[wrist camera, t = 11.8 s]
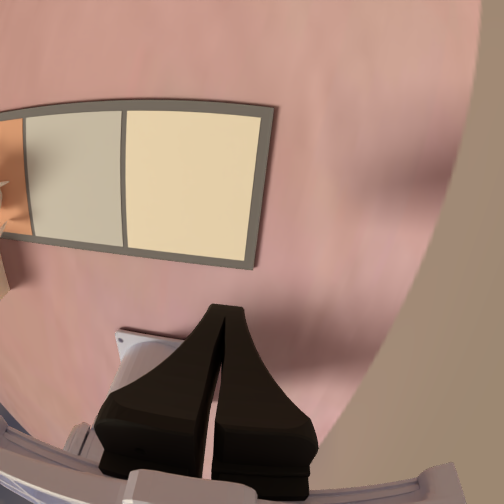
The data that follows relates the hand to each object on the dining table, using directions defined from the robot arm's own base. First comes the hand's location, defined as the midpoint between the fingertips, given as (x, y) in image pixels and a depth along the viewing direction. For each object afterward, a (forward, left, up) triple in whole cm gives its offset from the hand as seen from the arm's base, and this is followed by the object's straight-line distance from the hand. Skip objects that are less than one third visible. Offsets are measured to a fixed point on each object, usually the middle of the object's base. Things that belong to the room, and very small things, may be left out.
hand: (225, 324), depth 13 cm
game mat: (+3, +13, -9) cm, 16 cm away
